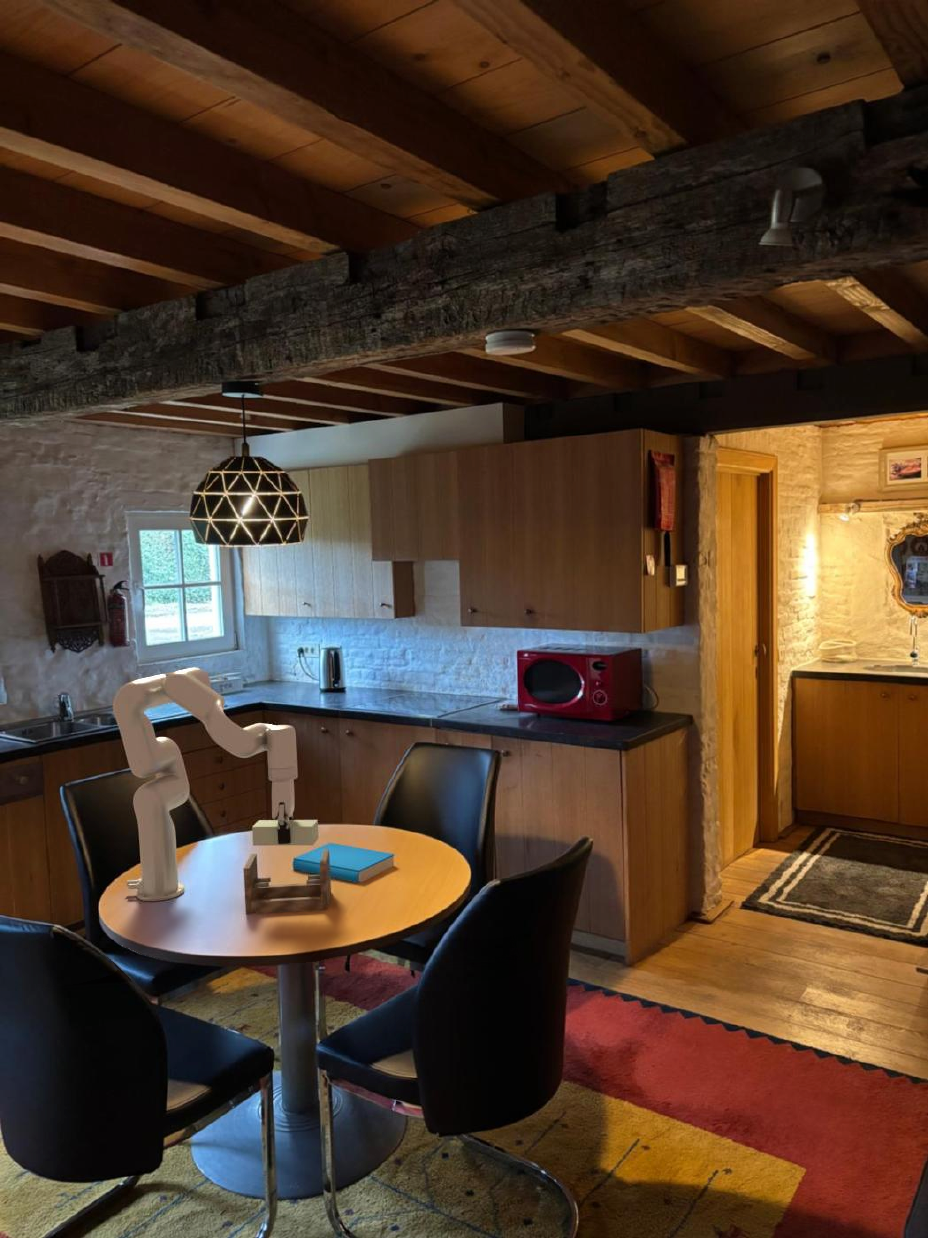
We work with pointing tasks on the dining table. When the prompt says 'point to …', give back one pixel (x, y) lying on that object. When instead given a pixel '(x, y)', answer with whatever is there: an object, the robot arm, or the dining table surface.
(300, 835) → the pale green block
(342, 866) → the book
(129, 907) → the dining table surface
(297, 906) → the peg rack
